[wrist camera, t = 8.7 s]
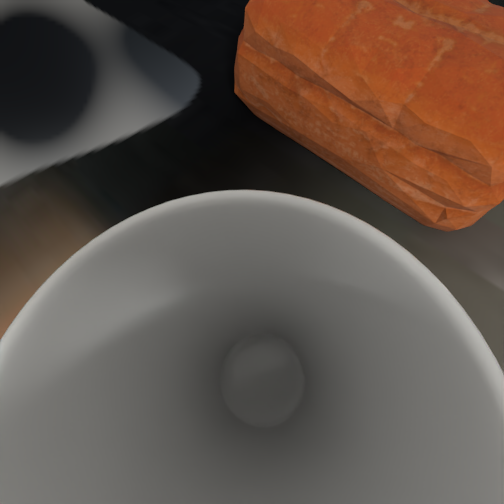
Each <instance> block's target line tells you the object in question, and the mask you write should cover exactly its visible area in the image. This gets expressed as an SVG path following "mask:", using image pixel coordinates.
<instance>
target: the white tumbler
mask: <svg viewBox="0 0 504 504" xmlns="http://www.w3.org/2000/svg"><path fill="white" fill-rule="evenodd" d="M0 504H504V374H503V372H502V370H501V367H500V365H499V363H498V361H497V360H496V358H495V356H494V354H493V353H492V351H491V349H490V348H489V346H488V344H487V343H486V341H485V339H484V338H483V336H482V334H481V333H480V331H479V330H478V328H477V327H476V326H475V324H474V323H473V321H472V320H471V318H470V317H469V316H468V314H467V313H466V311H465V310H464V309H463V307H462V306H461V305H460V304H459V302H458V301H457V300H456V299H455V298H454V296H453V295H452V294H451V293H450V292H449V290H448V289H447V288H446V287H445V286H444V285H443V284H442V283H441V282H440V281H439V280H438V279H437V278H436V277H435V275H434V274H433V273H432V272H431V271H430V270H429V269H428V268H427V267H426V266H424V265H423V264H422V263H421V262H420V261H419V260H418V259H416V258H415V257H414V256H413V255H412V254H411V253H410V252H409V251H407V250H406V249H405V248H403V247H402V246H401V245H399V244H398V243H397V242H395V241H394V240H393V239H391V238H390V237H389V236H387V235H385V234H384V233H382V232H381V231H379V230H377V229H376V228H374V227H373V226H371V225H369V224H368V223H366V222H364V221H362V220H360V219H358V218H356V217H354V216H352V215H350V214H348V213H346V212H344V211H341V210H339V209H336V208H334V207H332V206H329V205H326V204H323V203H320V202H317V201H314V200H311V199H308V198H303V197H299V196H295V195H291V194H285V193H278V192H272V191H261V190H224V191H214V192H206V193H201V194H196V195H190V196H186V197H182V198H179V199H175V200H171V201H168V202H165V203H163V204H160V205H157V206H154V207H151V208H149V209H147V210H144V211H142V212H140V213H138V214H136V215H133V216H131V217H129V218H127V219H126V220H124V221H122V222H120V223H118V224H116V225H115V226H113V227H111V228H110V229H108V230H107V231H105V232H104V233H102V234H100V235H99V236H97V237H96V238H94V239H93V240H92V241H90V242H89V243H88V244H86V245H85V246H84V247H82V248H81V249H80V250H78V251H77V252H76V253H75V254H74V255H72V256H71V257H70V258H69V259H68V260H67V261H66V262H65V263H63V264H62V265H61V266H60V267H59V268H58V269H57V270H56V271H55V272H54V273H53V274H52V275H51V276H50V277H49V278H48V279H47V280H46V281H45V282H44V283H43V284H42V285H41V286H40V288H39V289H38V290H37V291H36V292H35V293H34V295H33V296H32V297H31V298H30V299H29V300H28V302H27V303H26V304H25V305H24V307H23V308H22V309H21V311H20V312H19V314H18V315H17V316H16V318H15V319H14V320H13V322H12V323H11V324H10V326H9V327H8V329H7V331H6V332H5V334H4V335H3V337H2V338H1V340H0Z"/></svg>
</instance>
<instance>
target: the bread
mask: <svg viewBox="0 0 504 504" xmlns="http://www.w3.org/2000/svg"><path fill="white" fill-rule="evenodd" d="M234 74H235V91H234V92H235V93H236V95H237V96H238V97H239V98H240V99H241V100H242V101H243V102H244V103H245V105H246V106H247V107H248V108H249V109H250V110H251V111H252V112H253V113H254V114H255V115H256V116H257V117H259V118H260V119H262V120H263V121H265V122H266V123H268V124H269V125H271V126H272V127H274V128H275V129H277V130H278V131H280V132H281V133H283V134H284V135H286V136H288V137H289V138H291V139H292V140H294V141H296V142H297V143H299V144H300V145H302V146H303V147H305V148H307V149H308V150H310V151H311V152H313V153H314V154H316V155H317V156H319V157H320V158H322V159H324V160H325V161H327V162H328V163H330V164H331V165H333V166H334V167H336V168H337V169H339V170H340V171H342V172H343V173H345V174H347V175H348V176H349V177H351V178H352V179H354V180H355V181H357V182H358V183H360V184H361V185H363V186H364V187H366V188H367V189H369V190H370V191H372V192H373V193H374V194H376V195H377V196H379V197H380V198H382V199H383V200H385V201H386V202H388V203H390V204H391V205H393V206H394V207H396V208H397V209H399V210H401V211H402V212H404V213H405V214H407V215H408V216H410V217H412V218H413V219H415V220H416V221H418V222H419V223H421V224H423V225H425V226H428V227H432V228H436V229H439V230H443V231H452V230H457V229H461V228H465V227H468V226H471V225H473V224H474V223H475V222H476V221H477V220H479V219H480V218H481V217H482V216H483V215H484V214H486V213H487V212H488V211H489V210H490V209H491V208H493V207H495V206H496V205H498V204H500V202H501V201H502V200H503V199H504V7H501V6H497V5H493V4H491V3H490V2H489V1H487V0H250V1H249V2H248V4H247V6H246V7H245V22H244V28H243V30H242V32H241V34H240V36H239V39H238V46H237V54H236V61H235V68H234Z"/></svg>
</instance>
